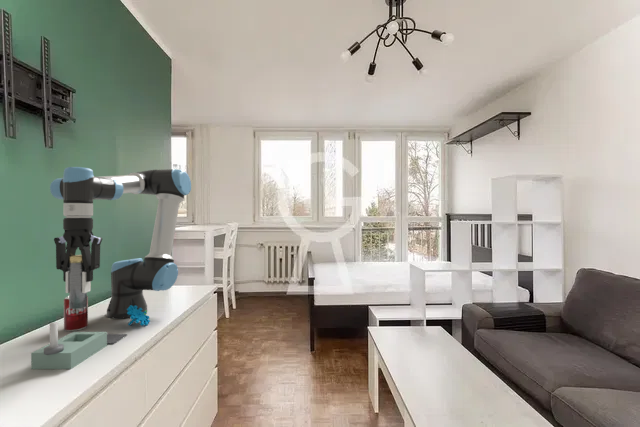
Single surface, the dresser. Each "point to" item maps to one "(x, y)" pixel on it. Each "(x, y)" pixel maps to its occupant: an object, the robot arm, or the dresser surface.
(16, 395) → the dresser surface
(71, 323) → the soda can
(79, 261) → the silver tall can
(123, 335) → the mat
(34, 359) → the fixture block
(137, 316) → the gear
